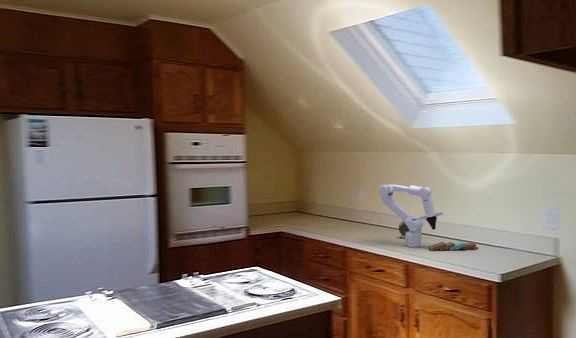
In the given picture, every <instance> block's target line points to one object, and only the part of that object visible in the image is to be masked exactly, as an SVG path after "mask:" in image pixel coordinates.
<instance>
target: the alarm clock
mask: <svg viewBox="0 0 576 338" xmlns="http://www.w3.org/2000/svg"><path fill="white" fill-rule="evenodd" d="M398 231H399V234H401V235H400V239H401V238H402V237H405V233H406V232H409V231H410V230H409V228H408V226H407V225H406V224H405V221H404V220H402V221H401V222H400V223H399V225H398Z"/></svg>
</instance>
